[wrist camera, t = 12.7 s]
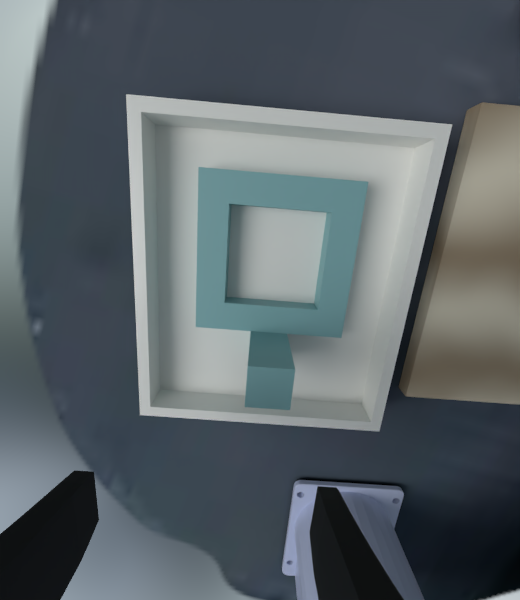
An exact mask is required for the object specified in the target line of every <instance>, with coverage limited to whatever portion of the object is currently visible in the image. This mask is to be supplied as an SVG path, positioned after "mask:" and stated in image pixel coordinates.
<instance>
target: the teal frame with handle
mask: <svg viewBox="0 0 520 600" xmlns="http://www.w3.org/2000/svg"><path fill="white" fill-rule="evenodd" d="M367 188H368V182H366V181H354V180H343V179H331V178H320V177H308V176H297V175H285V174H274V173H262V172H251V171H239V170H228V169H216V168H205V167H198V222H197V277H196V327H202V328H215V329H228V330H242V331H251V333H250V345H249V356H248V368H247V381H246V394H245V407H251V408H265V409H280V410H290V407H291V399H292V392H293V384H294V376H295V366H294V362H293V357H292V353H291V349H290V344H289V340H288V336H287V334H295V335H308V336H322V337H335V338H342V332H343V326H344V320H345V314H346V309H347V303H348V297H349V291H350V286H351V280H352V274H353V268H354V263H355V257H356V251H357V245H358V240H359V234H360V228H361V222H362V216H363V211H364V205H365V199H366V193H367ZM232 205H241V206H253V207H265V208H277V209H288V210H300V211H312V212H324V213H326V221H325V228H324V235H323V242H322V249H321V257H320V264H319V271H318V278H317V285H316V293H315V300H314V303H301V302H288V301H275V300H262V299H249V298H236V297H227V286H228V266H229V246H230V226H231V206H232Z"/></svg>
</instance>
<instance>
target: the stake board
mask: <svg viewBox="0 0 520 600" xmlns="http://www.w3.org/2000/svg"><path fill="white" fill-rule="evenodd" d="M399 389H400V390H401V391H402V392H403V393H404V395H405V396H407V397H421V398H435V399H449V400H463V401H477V402H491V403H505V404H519V405H520V106H514V105H503V104H493V103H480V104H478V105H476V106H474V107H472V108H470V109H468V110H467V112H466V116H465V120H464V125H463V129H462V133H461V137H460V141H459V145H458V149H457V153H456V157H455V161H454V165H453V169H452V173H451V177H450V181H449V185H448V189H447V193H446V197H445V201H444V205H443V209H442V213H441V217H440V221H439V225H438V230H437V234H436V238H435V242H434V246H433V250H432V254H431V258H430V262H429V266H428V270H427V274H426V278H425V282H424V286H423V290H422V294H421V298H420V302H419V306H418V310H417V314H416V318H415V322H414V326H413V330H412V334H411V339H410V343H409V347H408V351H407V355H406V359H405V363H404V367H403V371H402V375H401V379H400V383H399Z"/></svg>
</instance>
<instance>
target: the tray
mask: <svg viewBox="0 0 520 600" xmlns="http://www.w3.org/2000/svg"><path fill="white" fill-rule="evenodd" d="M126 102H127V125H128V148H129V171H130V194H131V217H132V240H133V263H134V286H135V309H136V332H137V355H138V378H139V401H140V415H148V416H162V417H177V418H191V419H206V420H220V421H235V422H250V423H264V424H279V425H293V426H308V427H322V428H337V429H351V430H366V431H380V426H381V422H382V418H383V414H384V410H385V405H386V401H387V397H388V393H389V389H390V384H391V380H392V376H393V372H394V368H395V363H396V359H397V355H398V351H399V347H400V342H401V338H402V334H403V330H404V326H405V321H406V317H407V313H408V309H409V305H410V300H411V296H412V292H413V288H414V284H415V279H416V275H417V271H418V267H419V263H420V258H421V254H422V250H423V246H424V242H425V237H426V233H427V229H428V225H429V220H430V216H431V212H432V208H433V204H434V199H435V195H436V191H437V187H438V183H439V178H440V174H441V170H442V166H443V162H444V157H445V153H446V149H447V145H448V141H449V136H450V132H451V128H452V124H441V123H430V122H420V121H409V120H398V119H387V118H376V117H366V116H355V115H344V114H333V113H322V112H312V111H301V110H290V109H279V108H268V107H258V106H247V105H236V104H225V103H214V102H204V101H193V100H182V99H171V98H160V97H150V96H139V95H128V94H126ZM198 167H205V168H216V169H228V170H239V171H251V172H262V173H274V174H285V175H297V176H308V177H320V178H331V179H343V180H354V181H366V182H368V188H367V193H366V199H365V205H364V211H363V216H362V222H361V228H360V234H359V240H358V245H357V251H356V257H355V263H354V268H353V274H352V280H351V286H350V291H349V297H348V303H347V309H346V314H345V320H344V326H343V332H342V338H335V337H322V336H308V335H295V334H287V336H288V340H289V344H290V349H291V353H292V357H293V362H294V366H295V376H294V384H293V392H292V399H291V407H290V410H280V409H265V408H251V407H245V394H246V381H247V368H248V356H249V345H250V333H251V331H242V330H228V329H215V328H202V327H196V277H197V222H198ZM325 221H326V213H324V212H312V211H300V210H288V209H277V208H265V207H253V206H241V205H232V206H231V226H230V246H229V266H228V286H227V297H236V298H249V299H262V300H275V301H288V302H301V303H314V300H315V293H316V285H317V278H318V271H319V264H320V257H321V249H322V242H323V235H324V228H325Z"/></svg>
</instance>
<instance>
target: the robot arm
mask: <svg viewBox="0 0 520 600" xmlns="http://www.w3.org/2000/svg"><path fill="white" fill-rule="evenodd" d="M299 492H301V493H299ZM403 497H404V493H403V491H402V489H401V488H400V487H398V486H388V485H373V484H357V483H342V482H327V481H311V480H298V481H296V482H295V483H294V487H293V494H292V501H291V508H290V515H289V522H288V528H287V535H286V542H285V549H284V556H283V563H282V572H283V573H284V574H285V575H290V576H295V582H296V592H297V600H424V598H423V595H422V593H421V591H420V588H419V586H418V584H417V581H416V579H415V577H414V574H413V572H412V570H411V567H410V565H409V563H408V560H407V558H406V556H405V553H404V551H403V549H402V546H401V544H400V542H399V539H398V537H397V535H396V532H395V530H394V528H395V525H396V521H397V518H398V514H399V511H400V507H401V504H402V500H403ZM98 520H99V518H98V508H97V498H96V489H95V479H94V472H88V471H74V472H72V473H71V474H70V475H69V476H68V477H66V478H65V479H64V480H63V481H62V482H61V483H59V484H58V485H57V486H56V487H55V488H54V489H53V490H51V491H50V492H49V493H48V494H47V495H46V496H44V497H43V498H42V499H41V500H40V501H39V502H38V503H36V504H35V505H34V506H33V507H32V508H31V509H29V511H27V512H26V513H25V514H24V515H22V516H21V517H20V518H19V519H18V520H17V521H15V522H14V523H13V524H12V525H11V526H10V527H8V528H7V529H6V530H5V531H3V532H2V533H1V534H0V600H60V599H61V597H62V596H63V594H64V592H65V590H66V588H67V586H68V584H69V582H70V581H71V579H72V577H73V575H74V573H75V571H76V569H77V567H78V566H79V564H80V562H81V560H82V558H83V555H84V553H85V551H86V549H87V546H88V544H89V542H90V539H91V537H92V534H93V532H94V530H95V527H96V525H97V522H98Z"/></svg>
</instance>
